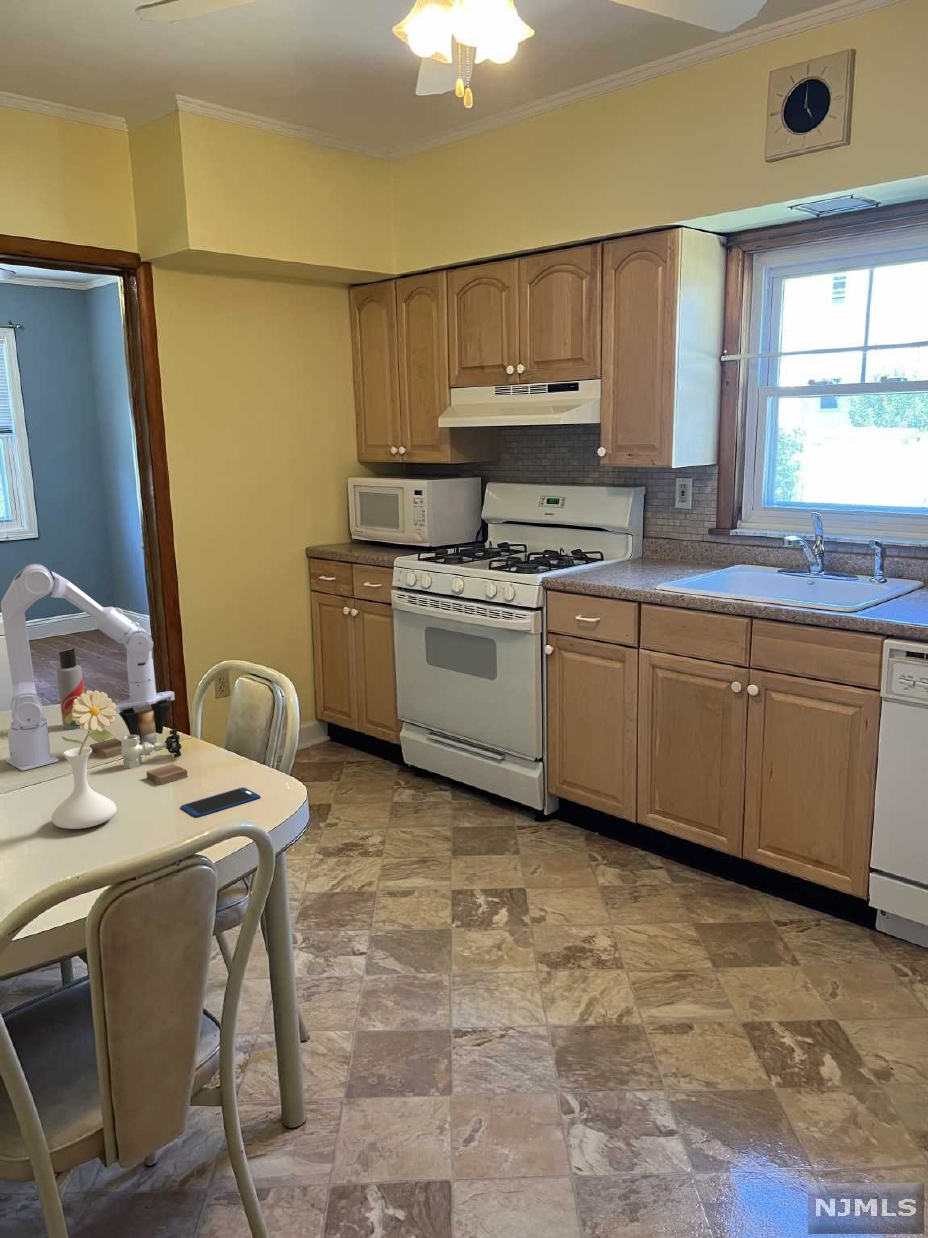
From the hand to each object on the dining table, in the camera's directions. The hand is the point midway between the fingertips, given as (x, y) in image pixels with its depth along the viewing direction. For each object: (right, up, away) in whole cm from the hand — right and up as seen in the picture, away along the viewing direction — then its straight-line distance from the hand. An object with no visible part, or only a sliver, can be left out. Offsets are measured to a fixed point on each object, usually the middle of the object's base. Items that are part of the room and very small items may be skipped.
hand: (147, 736), depth 215 cm
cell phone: (+27, -9, -36) cm, 46 cm away
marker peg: (0, -2, 0) cm, 2 cm away
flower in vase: (+4, -11, -43) cm, 45 cm away
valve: (+5, -5, -12) cm, 13 cm away
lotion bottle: (-24, 0, +16) cm, 29 cm away
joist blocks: (+3, -5, -13) cm, 14 cm away
